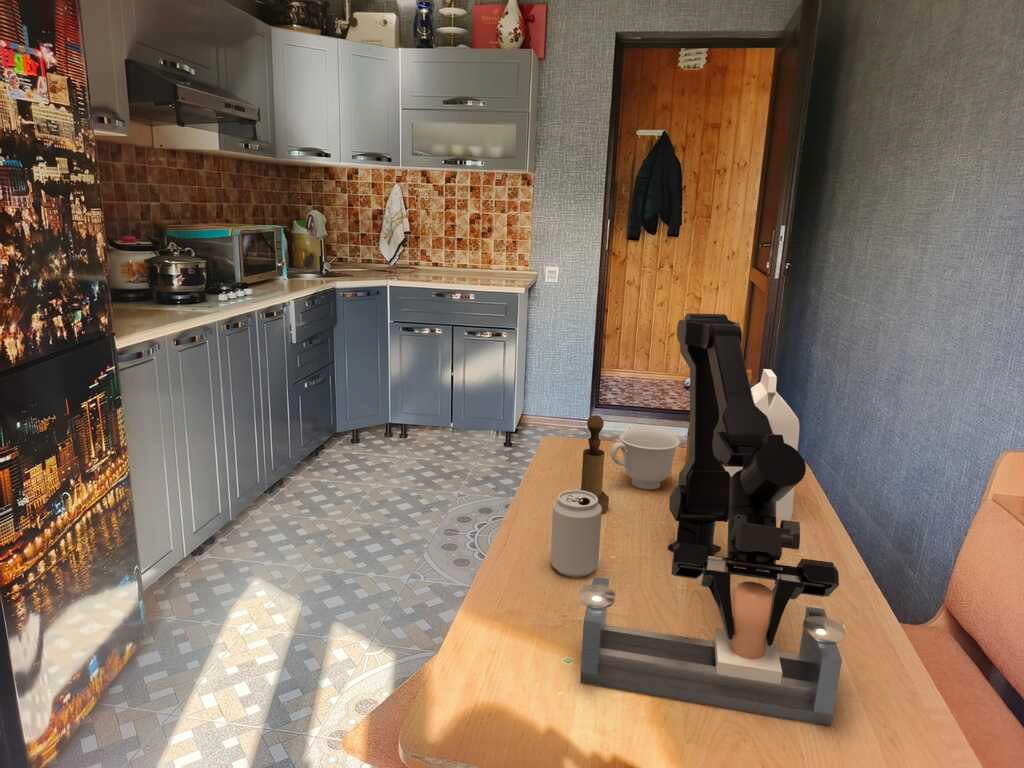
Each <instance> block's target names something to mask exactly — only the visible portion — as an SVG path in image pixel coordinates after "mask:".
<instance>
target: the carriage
mask: <svg viewBox="0 0 1024 768" xmlns="http://www.w3.org/2000/svg"><path fill="white" fill-rule="evenodd" d="M772 597H773V593H772V589H770V587H768V586H766V585H765V584H762V583H760V582H755V581H742V582H739V583H738V584H737V585H736V589H735V597H734V605H733V611H732V616H733V638H732V640H728V637H727V634H726V631H725V628H724V627H718V626H714V634H713V641H714V647H715V660H716V672H717V674H721V675H727V676H733V677H739V678H745V679H751V680H757V681H763V682H769V683H776V684H781V678H782V669H781V664H780V659H779V655H778V651H779V650H778V647H777V641H776V637H775V638H774V641H773V644H772V645H771V646H767V633H768V626H769V619H770V611H771V604H772Z"/></svg>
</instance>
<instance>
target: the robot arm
mask: <svg viewBox="0 0 1024 768" xmlns="http://www.w3.org/2000/svg"><path fill="white" fill-rule="evenodd" d="M676 338H677V341H678V342H679V346H680V347H679V353H680V354H681V356H682V357H683V359H684V361H685V362H686V364H687V366H688V368H689V425H690V443H689V459H688V461H687V462H686V461H685V464H684V466H683V467H682V468H681V470H680V472H679V473H678V484H677V485H676V486H675V488H674V489H673V491H672V493H671V494H670V495H669V497H668V499H669V502H668V503H669V508H668V509H669V511H670V513H671V515H672V517H673V519H674V521H675V522H678V526H677V527H678V528H677V532H676V533H677V535H676V540H675V541H674V542H671V543H670V544H669V545H667V549H668V550H669V551H672V553H673V554H672V559H671V561H672V562H671V573H670V574H671V575H672V576H674V577H679V578H680V577H681V578H686V579H687V578H688V579H693V580H697V579H698V578H699V577H701V576H702V578H701V581H700V585H701V587H704V588H708V590H709V591H710V592H711V595H712V597H713V599H714V602H715V604H716V606H717V609H718V611H719V614H720V617H721V621H722V623H723V628H725V631H726V634H727V637H728V640H732V638H733V605H732V595H731V575H732V576H733V575H734V576H735V575H736V576H742V577H748V578H749V577H750V578H756V579H763V580H771V581H773V582H774V583H773V584H774V586H773V588H772V589H771V591H772V593H773V597H772V604H771V611H770V619H769V626H768V633H767V646H771V645H772V644H773V641H774V638H775V639H776V634H777V631H778V628H779V625H780V623H781V621H782V616H783V614H784V611H785V609H786V606H787V605H788V603H789V601H790V600H797V599H798V597H799V596H800V595H801V594H802V595H807V596H812V597H814V596H815V597H820V598H821V597H822V598H824V597H825V598H826V597H829V596H831V594H832V593H834V591H835V590H837V588H838V587H839V586H840V582H839V581H840V580H839V579H840V578H839V577H840V576H839V570H838V568H837V566H836V565H835V564H834V563H833V562H831V561H823V560H816V559H809V558H801V559H800V561H799V562H798V564H797V565H796V566H793V565H791V566H790V565H784V564H777V561H780V560H781V558H782V555H783V549H790V550H799V549H800V545H801V526H800V521H795V520H780V525H779V526H778V527H777V519H776V502H777V501H779V500H781V499H782V498H783V497H784V496H785V495H786V494H787V493H788V492H789V491H790V490H791V489H792V488H793V487H794V488H795V486H797V485H798V484H799V483H800V482H801V481H802V480H803V479H804V478H805V475H806V471H807V467H806V461H805V459H804V458H803V457H802V455H801V454H800V453H799V450H798V451H797V450H796V449H794V448H793V447H792V446H790V445H788V444H786V443H784V440H783V435H780V434H774V433H773V431H772V429H771V426H770V423H769V420H768V417H767V416H766V415H765V414H764V413H763V412H762V411H761V410H760V409H759V408H758V407H756V406H755V403H754V400H753V396H752V392H751V388H752V387H751V383H749V379H748V374H747V370H748V369H747V367H746V366H747V365H746V362H745V357H744V353H743V349H742V345H741V344H742V339H743V333H742V329H741V327H740V322H736V321H734V320H730V319H729V318H728V316H727V315H726V313H692V312H690V313H688V312H687V313H686V314H685V316H684V318H683V319H679V320H678V322H677V326H676ZM722 464H723V465H724V466H725V467H743V468H742V470H739V471H737V472H736V473H735V474H734V475H733V476H732V477H731V476H730V474H729V472H728V471H726V470H725V469H724V467H723V465H722ZM716 522H719V523H720V522H723V523H728V524H727V549H726V550H727V551H726V556H719V555H718V556H717V555H716V554H718V553H719V552H721V551H722V547H721V546H720V545H718V544H715V543H714V537H715V529H716Z"/></svg>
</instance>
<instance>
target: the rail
mask: <svg viewBox="0 0 1024 768" xmlns="http://www.w3.org/2000/svg"><path fill="white" fill-rule="evenodd" d="M609 582H610V578H605V577H599V576H593V577H592V583H591V584H588V585H585V586H583V587H581V588H580V589H579V593H578V599H579V601H580V602H581V603H582V604H583V605H584V606H586V608H585V612H584V617H583V624H582V625H583V627H582V642H581V643H582V644H581V657H580V658H581V659H580V660H581V662H580V678H579V680H580V681H579V683H580V684H584V685H585V684H586V685H591V686H597V687H603V688H608V689H615V690H620V691H626V692H630V693H631V692H632V693H637V694H643V695H649V696H655V697H660V698H665V699H671V700H676V701H678V700H679V701H683V702H688V703H694V704H701V705H708V706H712V707H719V708H724V709H730V710H735V711H740V712H741V711H742V712H747V713H753V714H758V715H763V716H769V717H776V718H780V719H787V720H793V721H799V722H804V723H809V724H816V725H821V726H827V727H831V726H832V722H833V717H834V716H833V715H834V709H835V704H836V698H837V692H838V687H839V682H840V675H841V669H842V663H843V659H842V656H841V653H840V651H839V648H838V645H837V644H840V643H842V642H843V641H844V640H845V634H846V631H845V628H844V627H843V626H842V625H841V624H840V623H839V622H837V621H835V620H833V619H831V618H828V616H827V613H826V610H825V608H818V607H817V608H816V607H810V606H806V607H805V613H804V614H805V615H804V619H803V624H802V633H801V640H800V646H799V654H797V653H791V652H784V651H779V650H778V655H779V659H780V664H781V669H782V678H781V684H776V683H769V682H763V681H757V680H751V679H745V678H739V677H733V676H727V675H721V674H717V672H716V660H715V647H714V640H707V639H700V638H694V637H688V636H681V635H675V634H668V633H663V632H662V633H661V632H656V631H649V630H643V629H637V628H629V627H622V626H617V625H611V624H607V615H608V614H607V613H608V608H610V607H612V606H613V605H614V604H615V602H616V593H615V592H614V590H613V589H612V588H610V587H609V585H610V583H609Z"/></svg>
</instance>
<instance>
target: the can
mask: <svg viewBox="0 0 1024 768" xmlns="http://www.w3.org/2000/svg"><path fill="white" fill-rule="evenodd" d="M556 498H557V499H556V500H555V501H554V503H553V504H552V516H551V517H552V520H551V521H552V522H551V539H550V541H551V542H550V543H551V544H550V546H551V547H550V565H552V567H553V568H554V569H555V570H556V571H557V572H558V573H559V574H562V575H563V576H567V577H572V578H582V577H585V576H588V575H590V574H591V573H593V572H594V571H596V570H597V568H598V566H599V562H600V561H599V560H600V541H601V527H602V525H601V524H602V508H601V506H600V504H599V503H598V498H597V497H596V495H594V494H592V493H590V492H587V491H583V490H580V489H568V490H564V491H561V492H560V493H558V495H557V497H556Z"/></svg>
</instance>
